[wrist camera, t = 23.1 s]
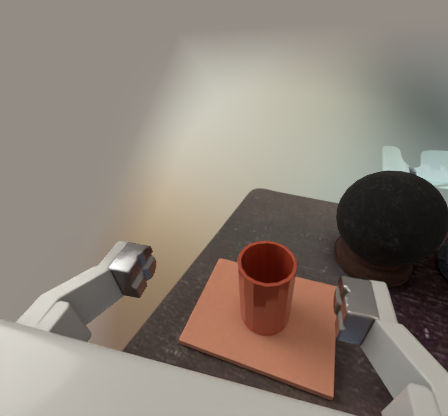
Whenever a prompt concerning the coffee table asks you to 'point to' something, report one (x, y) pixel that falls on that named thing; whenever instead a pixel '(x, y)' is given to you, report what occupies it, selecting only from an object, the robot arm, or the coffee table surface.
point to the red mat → (268, 345)
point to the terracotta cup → (266, 286)
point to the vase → (443, 259)
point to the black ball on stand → (389, 226)
